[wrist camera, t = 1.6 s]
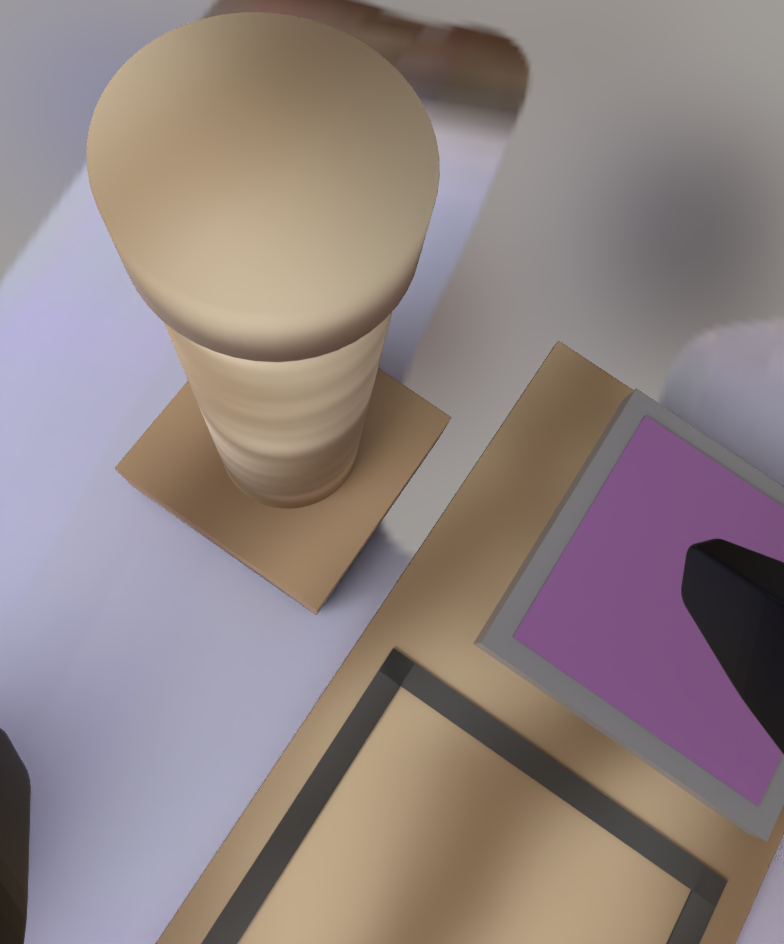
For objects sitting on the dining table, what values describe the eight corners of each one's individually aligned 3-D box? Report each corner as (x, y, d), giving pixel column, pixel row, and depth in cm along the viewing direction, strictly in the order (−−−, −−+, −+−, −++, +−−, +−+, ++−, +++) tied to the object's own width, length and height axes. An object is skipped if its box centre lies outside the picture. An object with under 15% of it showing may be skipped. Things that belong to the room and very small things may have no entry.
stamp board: (890, 569, 25) (902, 567, 25) (530, 1383, 18) (536, 1402, 18) (554, 345, 26) (559, 339, 25) (84, 1049, 19) (79, 1059, 18)
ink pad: (869, 562, 25) (895, 558, 23) (746, 833, 22) (769, 842, 21) (623, 398, 25) (637, 387, 24) (472, 643, 22) (481, 642, 21)
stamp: (437, 441, 24) (629, 121, 10) (316, 615, 22) (336, 535, 8) (267, 326, 25) (215, -145, 10) (134, 488, 23) (-162, 190, 8)
